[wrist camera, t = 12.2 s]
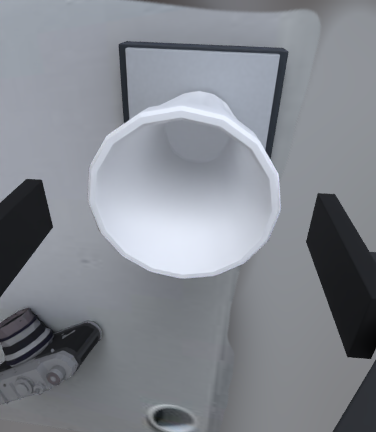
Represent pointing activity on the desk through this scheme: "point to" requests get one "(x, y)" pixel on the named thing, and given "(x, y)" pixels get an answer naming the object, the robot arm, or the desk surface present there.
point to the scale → (206, 79)
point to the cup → (184, 188)
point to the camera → (40, 354)
